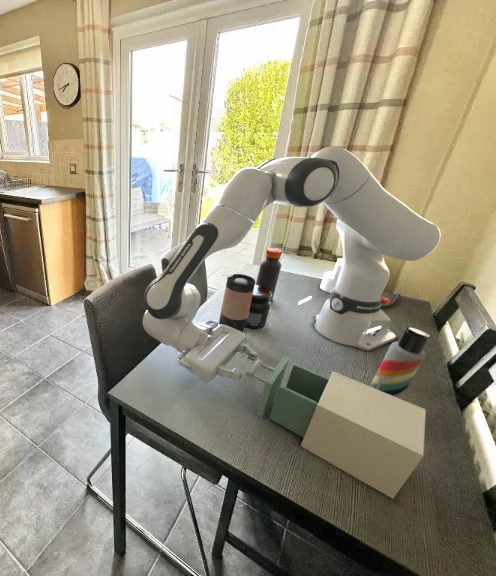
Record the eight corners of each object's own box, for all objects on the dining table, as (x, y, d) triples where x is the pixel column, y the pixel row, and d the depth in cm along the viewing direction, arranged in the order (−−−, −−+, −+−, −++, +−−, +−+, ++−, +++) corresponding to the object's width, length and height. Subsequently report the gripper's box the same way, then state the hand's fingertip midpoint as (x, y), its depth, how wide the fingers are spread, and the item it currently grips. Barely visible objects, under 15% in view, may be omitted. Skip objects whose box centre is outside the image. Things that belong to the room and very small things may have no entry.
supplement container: (261, 315, 107) (269, 285, 101) (269, 333, 97) (278, 300, 92) (230, 312, 109) (236, 282, 103) (234, 329, 99) (241, 296, 94)
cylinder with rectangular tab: (346, 296, 119) (357, 268, 114) (319, 290, 124) (329, 263, 118) (345, 288, 126) (356, 260, 121) (320, 282, 131) (329, 256, 125)
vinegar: (250, 294, 121) (261, 246, 112) (268, 296, 120) (281, 247, 111) (255, 303, 115) (267, 253, 106) (274, 304, 114) (288, 254, 105)
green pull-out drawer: (234, 403, 71) (243, 370, 66) (254, 378, 78) (262, 347, 74) (325, 454, 59) (343, 419, 55) (338, 419, 67) (354, 385, 62)
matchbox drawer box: (300, 445, 62) (317, 404, 57) (316, 410, 70) (332, 371, 65) (393, 499, 53) (423, 455, 48) (399, 450, 61) (426, 409, 56)
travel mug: (244, 345, 91) (258, 286, 83) (217, 342, 93) (229, 283, 84) (240, 331, 98) (252, 274, 89) (215, 328, 100) (225, 272, 91)
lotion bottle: (360, 391, 75) (393, 323, 66) (381, 390, 76) (417, 322, 67) (380, 410, 70) (419, 339, 61) (402, 408, 70) (445, 337, 61)
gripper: (175, 349, 72) (231, 379, 63) (216, 316, 85) (267, 337, 76) (172, 370, 75) (226, 401, 66) (212, 335, 88) (261, 357, 79)
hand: (248, 366), depth 71 cm, fingers open, 8 cm apart
